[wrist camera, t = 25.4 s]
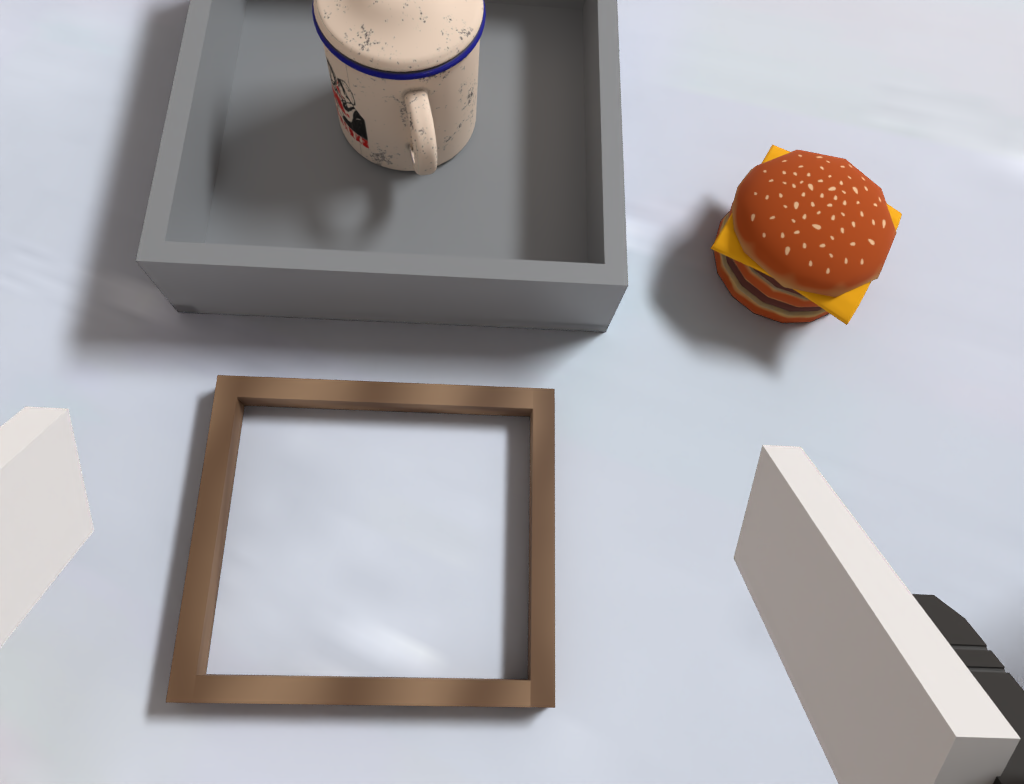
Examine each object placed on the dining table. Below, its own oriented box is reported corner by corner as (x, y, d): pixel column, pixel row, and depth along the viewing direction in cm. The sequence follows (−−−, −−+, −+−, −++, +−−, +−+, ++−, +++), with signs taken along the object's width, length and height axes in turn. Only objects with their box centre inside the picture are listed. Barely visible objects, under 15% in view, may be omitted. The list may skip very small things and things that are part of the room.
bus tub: (597, 9, 52) (614, -68, 47) (605, 331, 44) (627, 285, 39) (238, -18, 51) (211, -101, 45) (178, 312, 43) (135, 260, 37)
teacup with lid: (326, 68, 48) (289, -105, 37) (464, 52, 49) (468, -120, 38) (354, 228, 44) (322, 89, 33) (502, 206, 45) (519, 66, 34)
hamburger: (872, 237, 48) (935, 176, 42) (819, 355, 45) (878, 308, 39) (743, 171, 49) (785, 101, 43) (682, 281, 46) (718, 224, 40)
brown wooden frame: (551, 397, 43) (554, 388, 41) (551, 705, 37) (554, 707, 36) (225, 384, 41) (217, 375, 40) (177, 700, 36) (165, 702, 35)
